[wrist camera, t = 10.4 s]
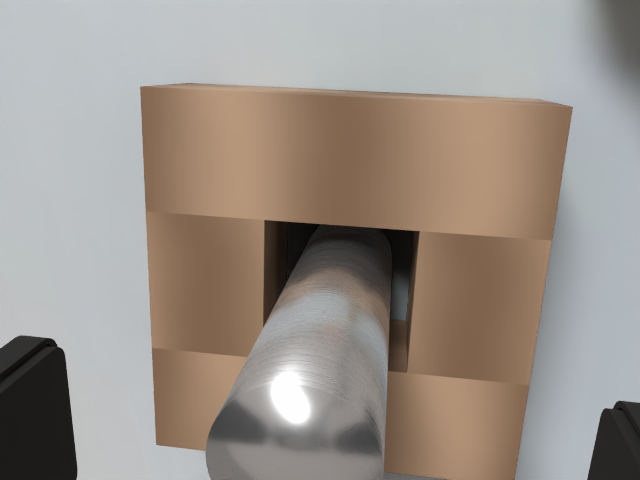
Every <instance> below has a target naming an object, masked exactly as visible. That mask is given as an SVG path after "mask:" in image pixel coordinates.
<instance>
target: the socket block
mask: <svg viewBox="0 0 640 480" xmlns="http://www.w3.org/2000/svg"><path fill="white" fill-rule="evenodd" d="M140 90H141V113H142V135H143V158H144V180H145V202H146V225H147V247H148V269H149V292H150V314H151V336H152V359H153V381H154V404H155V426H156V445H161V446H170V447H178V448H187V449H195V450H203V451H206V444H207V439H208V435H209V432H210V429H211V427H212V425H213V423H214V421H215V419H216V417H217V415H218V413H219V411H220V409H221V407H222V405H223V404H224V402H225V400H226V398H227V396H228V394H229V392H230V390H231V388H232V386H233V384H234V382H235V381H236V379H237V377H238V375H239V373H240V371H241V369H242V367H243V365H244V363H245V361H246V360H247V358H248V356H249V354H250V352H251V350H252V348H253V346H254V344H255V342H256V340H257V339H258V337H259V335H260V333H261V331H262V329H263V327H264V325H265V323H266V321H267V319H268V318H269V316H270V314H271V312H272V310H273V308H274V306H275V304H276V302H277V300H278V298H279V297H280V295H281V293H282V291H283V289H284V287H285V285H286V276H287V236H288V222H300V223H314V224H328V225H342V226H356V227H370V228H383V229H397V230H411V231H414V236H413V247H412V259H411V270H410V281H409V293H408V304H407V316H406V321H400V320H390V324H389V350H388V375H387V400H386V425H385V451H384V472H390V473H398V474H407V475H415V476H424V477H432V478H440V479H449V480H515V473H516V467H517V461H518V454H519V448H520V441H521V435H522V429H523V422H524V416H525V409H526V403H527V397H528V390H529V384H530V377H531V371H532V365H533V358H534V352H535V345H536V339H537V333H538V326H539V320H540V313H541V307H542V301H543V294H544V288H545V281H546V275H547V269H548V262H549V256H550V250H551V243H552V237H553V230H554V224H555V218H556V211H557V205H558V198H559V192H560V186H561V179H562V173H563V166H564V160H565V154H566V147H567V141H568V134H569V128H570V122H571V115H572V109H573V107H570V106H566V105H562V104H557V103H553V102H549V101H544V100H540V99H520V98H499V97H477V96H455V95H433V94H412V93H390V92H368V91H346V90H325V89H303V88H281V87H259V86H238V85H216V84H194V83H184V84H170V85H157V86H143V87H140Z"/></svg>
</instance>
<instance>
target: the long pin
mask: <svg viewBox="0 0 640 480" xmlns="http://www.w3.org/2000/svg"><path fill="white" fill-rule="evenodd" d="M391 274H392V252H391V247H390V244H389V242H388V240H387V238H386V236H385V235H384V233H383V232H382V231H381V230H380V229H379V228H370V227H356V226H342V225H328V224H322V225H320V226H319V227H318V228H317V229H316V230H315V231H314V233H313V234H312V236H311V237H310V239H309V241H308V243H307V245H306V247H305V249H304V251H303V253H302V254H301V256H300V258H299V260H298V262H297V264H296V266H295V268H294V270H293V272H292V274H291V275H290V277H289V279H288V281H287V283H286V285H285V287H284V289H283V291H282V293H281V295H280V297H279V298H278V300H277V302H276V304H275V306H274V308H273V310H272V312H271V314H270V316H269V318H268V319H267V321H266V323H265V325H264V327H263V329H262V331H261V333H260V335H259V337H258V339H257V340H256V342H255V344H254V346H253V348H252V350H251V352H250V354H249V356H248V358H247V360H246V361H245V363H244V365H243V367H242V369H241V371H240V373H239V375H238V377H237V379H236V381H235V382H234V384H233V386H232V388H231V390H230V392H229V394H228V396H227V398H226V400H225V402H224V404H223V405H222V407H221V409H220V411H219V413H218V415H217V417H216V419H215V421H214V423H213V425H212V427H211V429H210V432H209V435H208V439H207V444H206V463H207V468H208V472H209V476H210V478H211V480H383V475H384V451H385V425H386V400H387V375H388V350H389V324H390V299H391Z"/></svg>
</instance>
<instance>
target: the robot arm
mask: <svg viewBox="0 0 640 480" xmlns="http://www.w3.org/2000/svg"><path fill="white" fill-rule="evenodd" d="M76 479H77V461H76V452H75V443H74V434H73V424H72V415H71V406H70V397H69V388H68V378H67V369H66V360H65V354H64V351H63V349H61V348H60V347H57V344H56V342H55V341H54V340H53V339H51V338H42V337H32V336H18V337H16V338H14V339H13V340H12V341H10V342H9V343H7V344H6V345H5V346H3V347H2V348H0V480H76ZM587 480H640V403H635V402H626V401H618V402H616V404H615V405H614V408H613V409H607V408H606V409H604V410H603V412H602V414H601V417H600V422H599V427H598V432H597V436H596V441H595V446H594V450H593V455H592V460H591V465H590V469H589V474H588V479H587Z"/></svg>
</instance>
